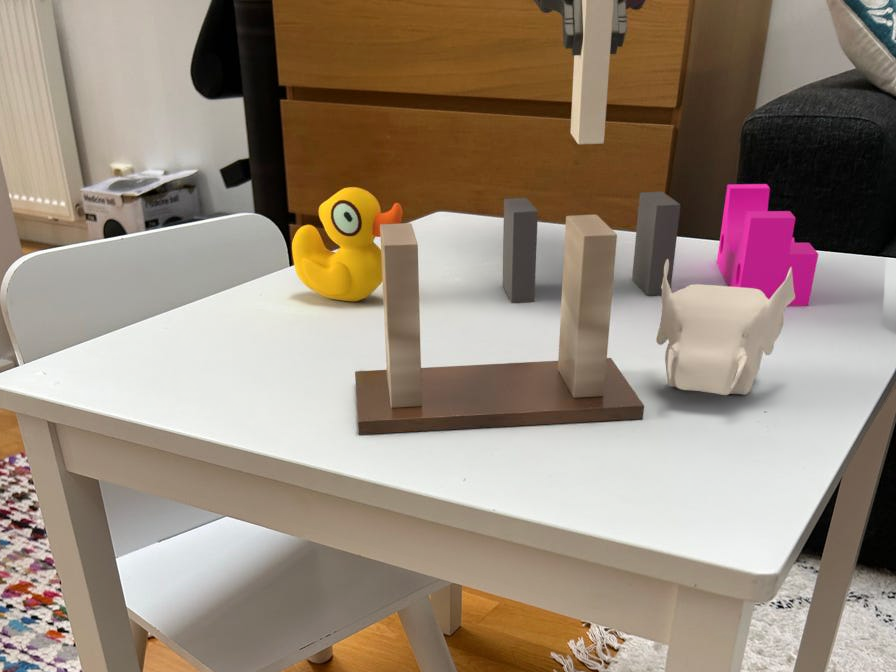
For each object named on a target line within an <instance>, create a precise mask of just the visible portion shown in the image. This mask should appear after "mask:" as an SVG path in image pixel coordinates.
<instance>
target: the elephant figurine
mask: <svg viewBox="0 0 896 672" xmlns="http://www.w3.org/2000/svg"><path fill="white" fill-rule="evenodd" d="M668 270H669V260H668V259H667V260H666V262H665V265H664V277H663V283H662V286H661V288H662V295H661V316H660V322H659V327H658V330H657V334H656V341H655V342H656V343H657V344H658V346H659V345H660V346H663V345H664V344H665V343H666V342H667V341H668V344H667V346H666V350H665V353H664V354H665V355H664V363H665V364H664V365H665V371H666V377H667V378H666V379H667V384H668V386H669V387H670V388H677V389H679V390H682V391H695V392H702V393H703V392H704V393H709V394H715V395H721V396H728V395H729V394H730V395H732V394H733V395H747V394H748V393H749V392H750V391H751V390H752V387H753V384H754V382H755V379H756V377H757V375H758V373H759V370H760V366H761V363H762V360H763V356H764V355H765V356H770V355H771V354H772V353H773V351H774V348H775V342H776V341H777V339H778V338H779V336H780V334H781V332H782V330H783V327H784V313H785V310H786V308H787V307H788V306H789V305H788V304H789V303H791V302H792V301H793V300H794V299H795V293H794V288H793V277H792V267H791V268H790V269H789V272H788V274H787V277H786V280H785V281H784V282H783V284H782V285H781V286H780V287H779V288H778V289H777V290H776V292H775V293H774V294H773V295H772V297H771V298H770V299H768V298H767V297H766V296H765V294H764V293H763V292H762V291H761V290H758V289H753V288H742V287H729V286H728V285H714V284H699V283H697V284H695V283H693V284H690V285H687V286H686V287H685V288H681V289H678V290H676V291H674V292H673V291H672V288H671V289H670V286H669V284H668V281H667V274H668ZM763 354H764V355H763Z"/></svg>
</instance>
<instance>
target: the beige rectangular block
mask: <svg viewBox="0 0 896 672" xmlns="http://www.w3.org/2000/svg"><path fill="white" fill-rule="evenodd" d="M613 4H614V0H582V13H583V44H582V50H581V55H577V56H573V75H572V76H573V77H572V91H571V92H572V94H571V112H570V113H571V115H570V135H571V136H572V138H573V139H574V141H575V142H576V143H577V145H600V144H601V145H602V144H605V134H606V133H605V132H606V119H607V104H608V92H609V91H608V90H609V74H610V61H611V54H610V48H611V33H612V19H613Z"/></svg>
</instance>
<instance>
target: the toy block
mask: <svg viewBox="0 0 896 672" xmlns="http://www.w3.org/2000/svg"><path fill="white" fill-rule="evenodd" d="M770 191H771V188H770V186H769V185H768V184H767V183H740V184H739V183H738V184H737V183H734V184H732V183H731V184H730V183H729V184H727V185H726V193H725V200H724V207H723V214H722V223H721V229H720V237H719V242H718V243H719V244H718V251H717V258H716V264H717V267H718V268H719V270H720V272H721V275H722V276H723V278H724V280H725V283H726V284H727V285H726V286H729V287H742V288H753V289H758V290H761V291H762V292H763V293H764V294H765V296H766V297H767V298H768V299H770V298H771V297H772V295H773V294H774V293H775V292H776V290H777V289H778V288H779V287H780V286H781V285H782V284H783V282H784V281H785V280H786V277H787V274H788V272H789V269H790V268H791V267H792V277H793V288H794V293H795V299H794V300H793V301H792V302H791V303H789V304H788V305H787V306H791V307H793V306H794V307H795V306H797V307H798V306H800V307H801V306H803V307H804V306H805V307H806V306H809V305H810V300H811V295H812V289H813V286H814V285H813V283H814V280H815V275H816V274H815V273H816V269H817V264H818V259H819V253H818V251H817V250H816V249H815V248H814V246H812V244H811V243H810V242H795V237H794V236H793V235H794V229H795V223H796V216H794V214H793V213H792V212H791V211H790V210H783V211H782V210H772V211H771V210H769V200H770Z"/></svg>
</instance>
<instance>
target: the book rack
mask: <svg viewBox="0 0 896 672" xmlns="http://www.w3.org/2000/svg"><path fill="white" fill-rule="evenodd" d="M564 228H565V229H564V230H565V231H564V247H563V266H562V267H563V268H562V284H561V285H562V286H561V300H560V301H561V303H560V321H559V338H558V339H559V340H558V358H557V360H545V361H543V360H542V361H526V362H525V361H524V362H523V361H522V362H507V363H489V364H487V363H486V364H470V365H469V364H467V365H451V366H450V365H449V366H448V365H447V366H432V367H431V366H430V367H429V366H428V367H422V357H421V356H422V354H421V353H422V352H421V350H422V349H421V317H420V315H421V313H420V280H419V279H420V278H419V276H420V275H419V243H418V241H417V237H416V234H415V231H414V227H413V224H412V223H411V222H406V223H405V222H403V223H402V222H401V223H400V224H381V225H380V237H379V238H380V249H381V258H382V280H383V281H382V298H383V299H382V301H383V319H384V320H383V321H384V341H385V342H384V343H385V362H386V363H385V364H386V369H374V370H373V369H372V370H371V369H370V370H356V371H354V380H355V381H354V382H355V383H354V384H355V399H356V411H357V412H356V415H357V431H358V435H373V434H374V435H375V434H392V433H393V434H394V433H409V432H410V433H413V432H427V431H429V432H430V431H431V432H432V431H446V430H447V431H448V430H466V429H483V428H485V429H486V428H499V427H502V428H503V427H518V426H519V427H520V426H521V427H522V426H537V425H538V426H540V425H555V424H573V423H575V424H577V423H590V422H591V423H592V422H609V421H610V422H611V421H627V420H628V421H629V420H642V419H644V413H645V412H644V411H645V405H644V404H643V403H644V402H642V401H641V399H640V397H639V396H638V394H637V393H636V391H635V390H634V389H633V387H632V386H631V385H630V383H629V381H628V380H627V379H626V377H625V375H623V373H622V372H621V369H620V368H619V367H618V366H617V364H616V363H615V361H614V360H613V359H612V357H608V348H609V338H610V336H609V335H610V326H611V325H610V324H611V312H612V302H613V301H612V299H613V288H614V275H615V263H616V254H617V253H616V251H617V239H618V234H617V233H616V232H615V231H614V230H613V229H612V228H611V227H610V226H609V225H608V223H606V222H605V221H604V220H603V219H602V218H601V217H600V216H599V215H598V214H579V215H577V214H576V215H567V216H565V227H564Z"/></svg>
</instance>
